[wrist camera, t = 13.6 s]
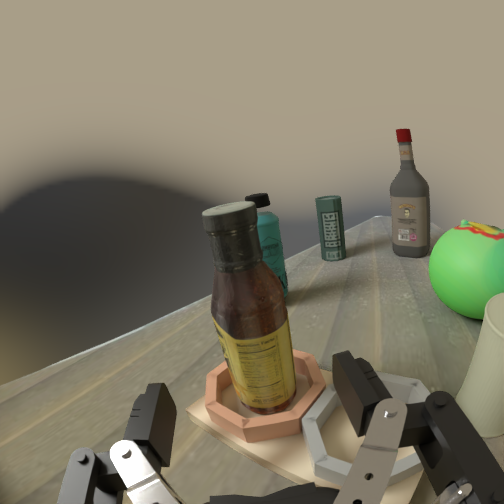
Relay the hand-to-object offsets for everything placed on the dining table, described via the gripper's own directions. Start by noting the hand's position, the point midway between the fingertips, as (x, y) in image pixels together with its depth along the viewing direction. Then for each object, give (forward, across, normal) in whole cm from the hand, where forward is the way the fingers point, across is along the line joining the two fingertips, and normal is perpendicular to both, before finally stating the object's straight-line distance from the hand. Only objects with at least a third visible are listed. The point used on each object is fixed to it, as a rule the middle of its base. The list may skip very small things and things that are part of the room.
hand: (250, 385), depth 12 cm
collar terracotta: (+11, 0, +13) cm, 17 cm away
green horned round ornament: (+17, -36, +15) cm, 42 cm away
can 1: (+54, -23, +15) cm, 61 cm away
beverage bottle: (+37, -5, +15) cm, 40 cm away
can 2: (0, -23, +15) cm, 28 cm away
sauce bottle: (+11, -1, +13) cm, 17 cm away
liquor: (+46, -42, +15) cm, 64 cm away
